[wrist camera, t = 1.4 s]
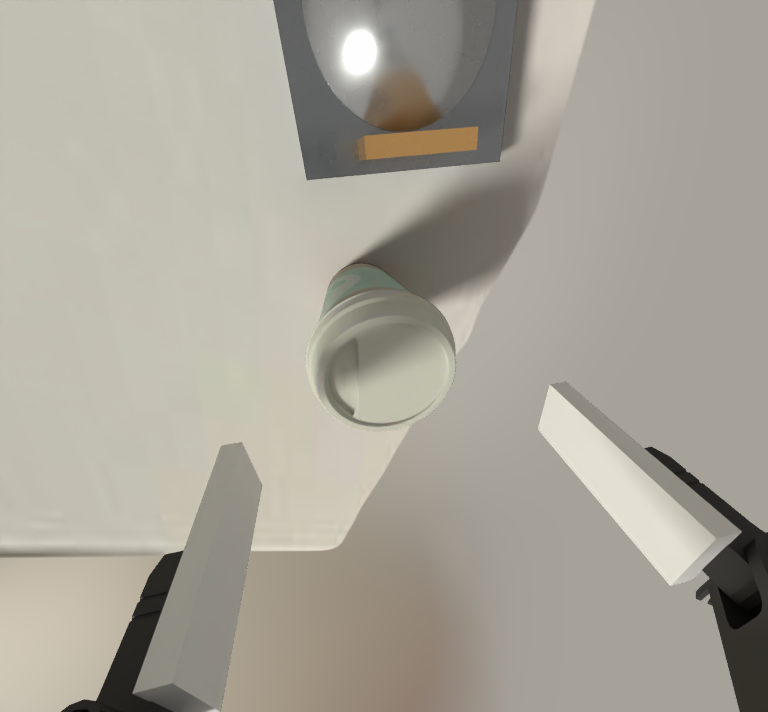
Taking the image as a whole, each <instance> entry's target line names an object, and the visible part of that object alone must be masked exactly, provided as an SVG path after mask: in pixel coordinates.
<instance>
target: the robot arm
mask: <svg viewBox="0 0 768 712" xmlns="http://www.w3.org/2000/svg"><path fill="white" fill-rule="evenodd" d="M538 430H539V431H540V432H541V434H542V435H543V436H544V437H545V438H546V439H547V441H548V442H549V443H550V444H551V445H552V446H553V448H554V449H555V450H556V451H557V452H558V453H559V455H560V456H561V457H562V458H563V459H564V461H565V462H566V463H567V464H568V465H569V467H570V468H571V469H572V470H573V471H574V473H576V475H577V476H578V477H579V478H580V480H581V481H582V482H583V483H584V484H585V486H586V487H587V488H588V489H589V490H590V491H591V492H592V494H593V495H594V496H595V497H596V499H597V500H598V501H599V502H600V503H601V504H602V506H603V507H604V508H605V509H606V510H607V512H608V513H609V514H610V515H611V516H612V517H613V518H614V520H615V521H616V522H617V523H618V524H619V525H620V527H621V528H622V529H623V530H624V531H625V533H626V534H627V535H628V536H629V537H630V539H631V540H632V541H633V542H634V543H635V544H636V545H637V547H638V548H639V549H640V550H641V552H642V553H643V554H644V555H645V556H646V558H647V559H648V560H649V561H650V562H651V563H652V565H653V566H654V567H655V568H656V569H657V571H658V572H659V573H660V574H661V575H662V576H663V578H664V579H665V580H666V581H667V582H668V584H670V586H672V585H676V584H679V583H683V582H686V581H690V580H693V578H695V577H696V576H697V575H698V574H699V573H700V572H701V571H702V570H703V571H704V572H705V573H706V575H707V576H709V578H710V579H709V580H708V581H707V582H705V583H704V584H703V585H702V586H701V587H700V588H699V589H698V590H697V591H696V599H698V600H702V599H703V598H704V597H706V595H708V594H709V593H710V597H711V598H710V600H709V601H708V604H710V605H712V606H713V609H714V613H715V617H716V620H717V624H718V628H719V632H720V636H721V640H722V644H723V648H724V651H725V656H726V660H727V663H728V667H729V671H730V675H731V679H732V683H733V687H734V691H735V695H736V699H737V702H738V706H739V710H740V712H768V532H767V533H765V532H763V531H762V530H760V529H759V528H758V527H756V526H755V525H754V524H752V523H751V522H749V521H748V520H747V519H746V518H745V517H744V516H742V515H741V514H740V513H739V512H737V511H736V510H735V509H734V508H732V507H731V506H730V505H729V504H728V503H726V502H725V501H724V500H723V499H721V498H720V497H719V496H718V495H716V494H715V493H714V492H713V491H711V490H710V489H709V488H708V487H706V486H705V485H704V484H703V483H702V484H701V483H700V482H699V480H698V479H697V478H696V477H694V476H693V475H692V474H691V473H688V472H686V469H684V468H683V467H682V466H681V465H680V464H678V463H677V462H676V461H675V460H673V459H672V458H671V457H670V456H668V455H666V454H664V453H662V452H660V451H658V450H657V449H655V448H653V447H648V448H643V447H642V446H641V445H640V444H638V443H637V442H636V441H635V440H634V439H633V438H631V437H630V436H629V435H628V434H626V432H624V431H623V430H622V429H621V428H620V427H618V426H617V425H616V424H615V423H614V422H613V421H611V420H610V419H609V418H608V417H607V416H606V415H604V414H603V413H602V412H601V411H600V410H599V409H597V408H596V407H595V406H594V405H593V404H592V403H590V402H589V401H588V400H587V399H586V398H585V397H583V396H582V395H581V394H580V393H579V392H577V391H576V390H575V389H574V388H572V386H570V385H569V384H568V383H567V382H561V383H556V384H551V385H550V387H549V390H548V394H547V397H546V401H545V405H544V409H543V412H542V416H541V420H540V423H539V427H538ZM261 490H262V484H261V482H260V480H259V477H258V475H257V473H256V471H255V469H254V467H253V465H252V463H251V461H250V459H249V456H248V454H247V452H246V450H245V448H244V446H243V444H242V442H239V443H234V444H229V445H223V446H221V448H220V451H219V454H218V456H217V459H216V462H215V465H214V468H213V470H212V473H211V476H210V479H209V482H208V484H207V487H206V490H205V493H204V495H203V498H202V501H201V504H200V507H199V509H198V512H197V515H196V518H195V521H194V523H193V526H192V529H191V532H190V535H189V537H188V540H187V543H186V546H185V548H184V551H180V552H175V553H171V554H166V555H164V556H163V558H162V559H161V560H160V562H159V563H158V565H157V566H156V567H155V569H154V570H153V571H152V573H151V574H150V576H149V578H148V580H147V583H146V585H145V587H144V589H143V592H142V594H141V597H140V602H138V604H137V606H136V609H135V611H134V613H133V616H132V621H131V622H130V623H129V625H128V628H127V630H126V632H125V635H124V637H123V639H122V642H121V644H120V646H119V649H118V651H117V653H116V656H115V658H114V661H113V663H112V665H111V668H110V670H109V672H108V675H107V677H106V680H105V682H104V684H103V687H102V689H101V691H100V694H99V696H98V698H97V700H96V701H91V700H82V701H79V702H77V703H74V704H71V705H69V706H68V707H66V708H65V709H64V710H62V711H61V712H221V708H222V702H223V697H224V692H225V686H226V681H227V675H228V670H229V665H230V659H231V654H232V648H233V643H234V637H235V631H236V626H237V620H238V615H239V610H240V604H241V599H242V593H243V588H244V583H245V577H246V572H247V566H248V561H249V555H250V550H251V544H252V539H253V533H254V528H255V522H256V517H257V512H258V506H259V501H260V495H261Z"/></svg>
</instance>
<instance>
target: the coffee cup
mask: <svg viewBox="0 0 768 712" xmlns="http://www.w3.org/2000/svg"><path fill="white" fill-rule="evenodd" d="M305 364H306V371H307V375H308V379H309V382H310V385H311V388H312V390H313V391H314V393H315V395H316V396H317V398H318V399H319V400H320V402H321V403H322V405H323V407H324V408H325V409H326V411H327V412H328V413H329V414H330V415H331V416H332V417H334V418H335V419H336V420H338V421H339V422H341V423H342V424H344V425H346V426H349V427H352V428H355V429H358V430H363V431H373V432H381V431H390V430H395V429H399V428H403V427H405V426H408V425H411V424H413V423H415V422H417V421H419V420H421V419H422V418H424V417H425V416H427V415H428V414H429V413H431V412H432V411H433V410H434V409H435V408H436V407H437V406H438V405H439V404H440V403H441V402H442V401H443V399H444V398H445V397H446V395H447V394H448V392H449V390H450V388H451V386H452V383H453V381H454V377H455V372H456V359H455V342H454V338H453V335H452V332H451V330H450V327H449V325H448V322H447V321H446V319H445V317H444V316H443V314H442V313H441V312H440V311H439V310H438V309H437V308H436V307H435V306H434V305H433V304H432V303H430V302H429V301H427V300H426V299H424V298H422V297H420V296H418V295H415V294H413V293H410V292H409V291H408V290H407V289H405V288H404V287H403V286H402V285H400V284H399V283H398V282H397V281H395V280H394V279H393V278H392V277H390V276H389V275H388V274H387V273H385V272H384V271H383V270H381V269H380V268H378V267H376V266H374V265H370V264H364V263H359V264H353V265H350V266H347V267H345V268H343V269H342V270H340V271H339V272H338V273H337V274H336V275H335V276H334V277H333V279H332V280H331V282H330V284H329V287H328V290H327V294H326V297H325V301H324V305H323V309H322V313H321V316H320V320H319V323H318V324H317V326H316V327H315V329H314V330H313V332H312V334H311V336H310V339H309V341H308V345H307V349H306V356H305Z"/></svg>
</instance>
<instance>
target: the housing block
mask: <svg viewBox="0 0 768 712" xmlns="http://www.w3.org/2000/svg"><path fill="white" fill-rule="evenodd" d="M273 1H274V6H275V12H276V17H277V23H278V28H279V33H280V39H281V44H282V49H283V55H284V60H285V65H286V71H287V76H288V82H289V87H290V92H291V98H292V103H293V108H294V114H295V119H296V124H297V130H298V135H299V141H300V146H301V151H302V157H303V162H304V167H305V173H306V178H307V180H313V179H323V178H333V177H344V176H354V175H365V174H375V173H386V172H396V171H406V170H417V169H427V168H438V167H448V166H458V165H469V164H479V163H490V162H500V156H501V147H502V138H503V129H504V120H505V111H506V102H507V93H508V84H509V75H510V66H511V57H512V48H513V39H514V30H515V21H516V12H517V3H518V0H273Z"/></svg>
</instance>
